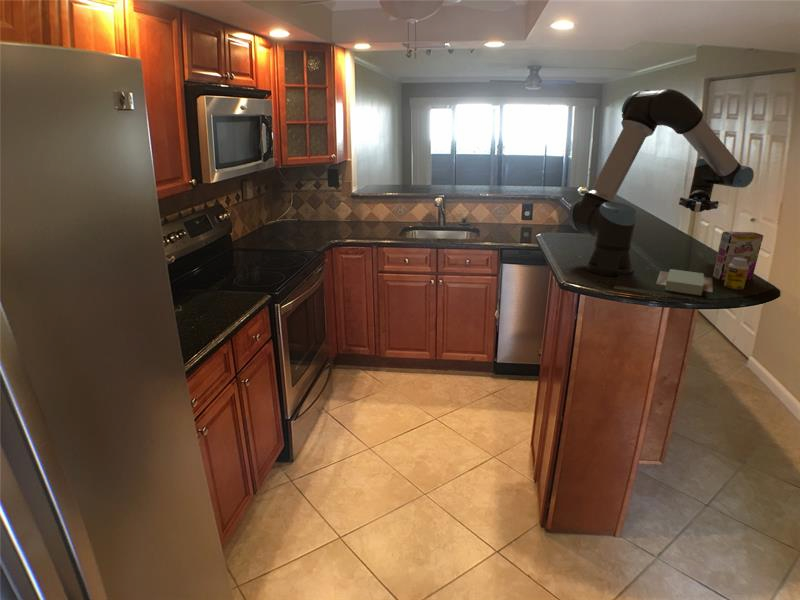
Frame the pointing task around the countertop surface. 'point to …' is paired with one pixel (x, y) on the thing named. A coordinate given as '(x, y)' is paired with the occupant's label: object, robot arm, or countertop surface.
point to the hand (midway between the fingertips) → (697, 207)
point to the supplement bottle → (736, 274)
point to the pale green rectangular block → (685, 282)
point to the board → (664, 275)
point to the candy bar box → (737, 251)
